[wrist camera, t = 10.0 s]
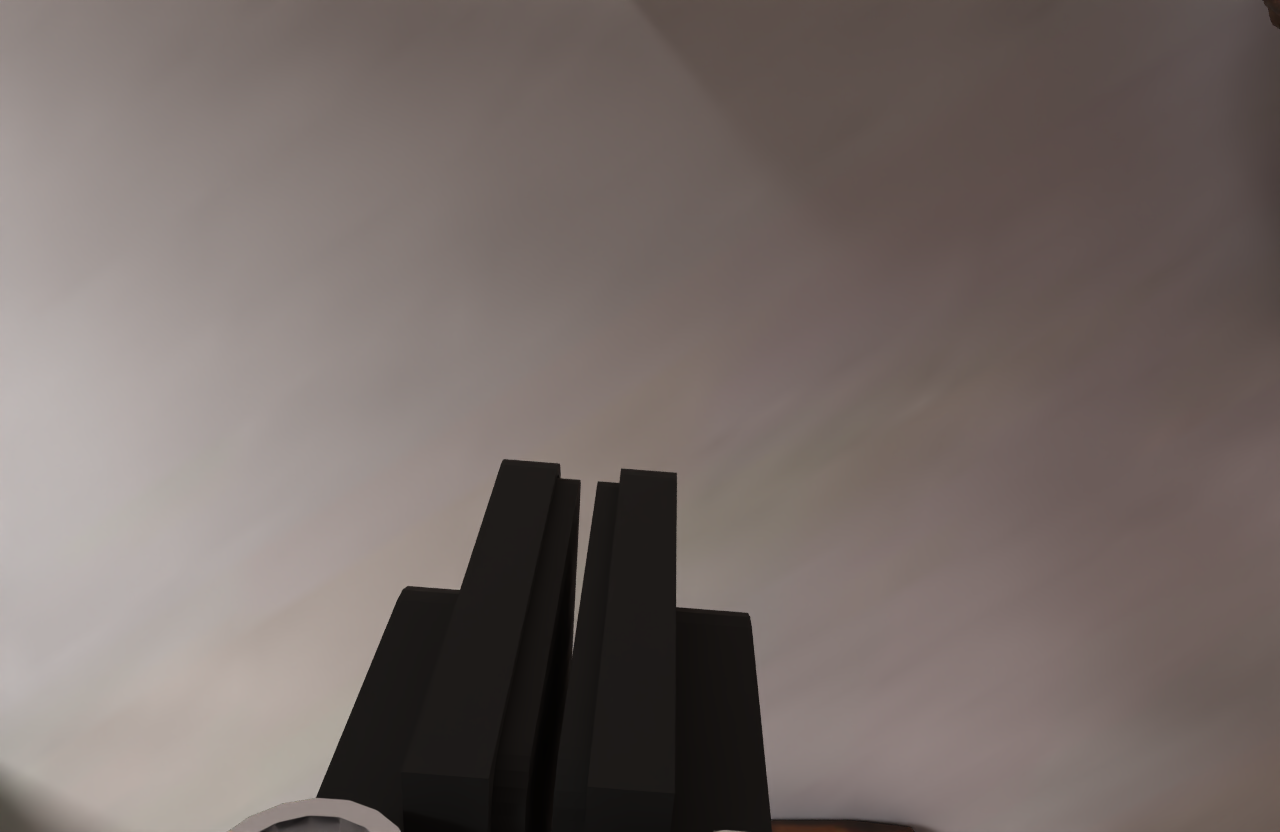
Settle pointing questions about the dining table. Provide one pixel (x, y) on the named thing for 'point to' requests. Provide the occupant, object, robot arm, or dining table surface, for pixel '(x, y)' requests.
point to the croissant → (833, 826)
